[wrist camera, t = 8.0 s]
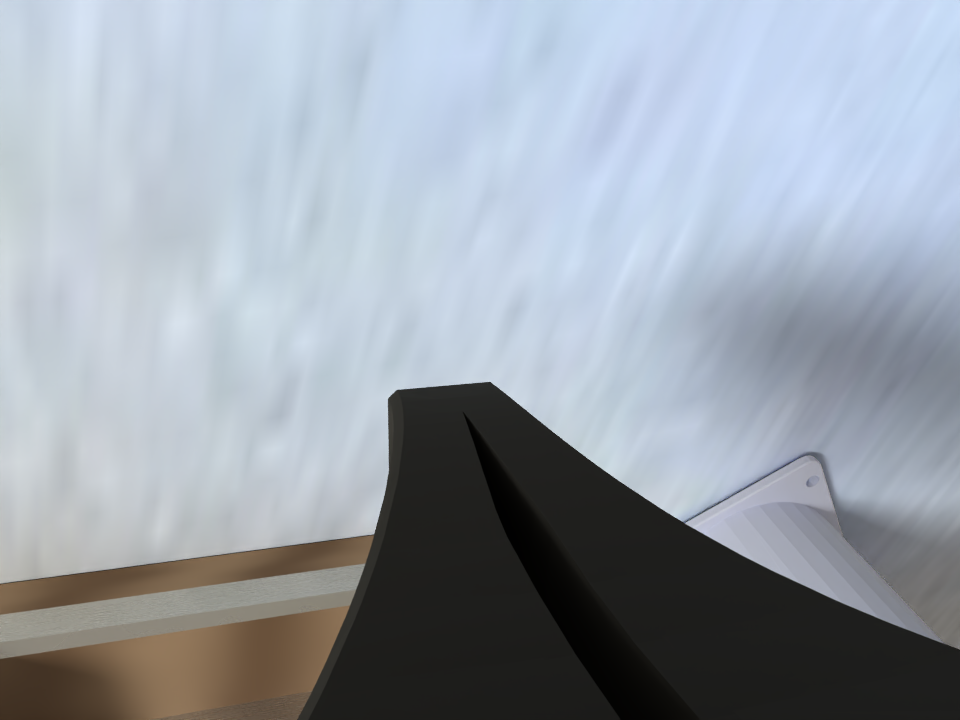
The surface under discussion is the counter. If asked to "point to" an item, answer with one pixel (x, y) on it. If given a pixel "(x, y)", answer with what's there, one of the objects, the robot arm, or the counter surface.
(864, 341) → the counter surface
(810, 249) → the counter surface
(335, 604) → the anvil and rails
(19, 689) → the gauge bed
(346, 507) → the counter surface
